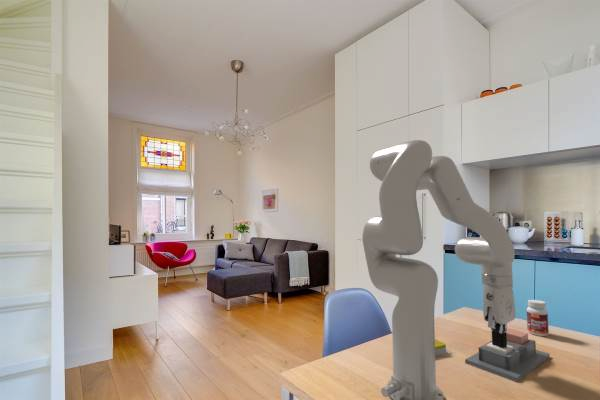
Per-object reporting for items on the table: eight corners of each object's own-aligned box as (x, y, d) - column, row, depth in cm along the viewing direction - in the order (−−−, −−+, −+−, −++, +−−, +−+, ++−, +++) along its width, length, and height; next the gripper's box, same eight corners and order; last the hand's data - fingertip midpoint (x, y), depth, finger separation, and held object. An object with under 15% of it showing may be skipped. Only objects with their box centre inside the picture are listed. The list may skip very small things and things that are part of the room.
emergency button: (393, 335, 101) (430, 329, 106) (394, 349, 101) (431, 343, 106) (413, 346, 92) (453, 339, 97) (413, 362, 92) (453, 354, 97)
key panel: (517, 381, 80) (516, 363, 80) (465, 362, 90) (464, 346, 91) (549, 356, 94) (548, 341, 94) (501, 343, 104) (501, 329, 105)
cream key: (505, 363, 85) (505, 351, 86) (486, 356, 90) (485, 345, 90) (513, 358, 88) (513, 346, 89) (494, 352, 92) (493, 341, 93)
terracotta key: (521, 348, 92) (521, 337, 92) (502, 342, 96) (502, 332, 96) (528, 344, 95) (527, 333, 95) (509, 339, 99) (509, 328, 99)
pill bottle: (530, 335, 111) (529, 302, 112) (524, 329, 117) (523, 298, 117) (551, 337, 109) (550, 304, 110) (545, 331, 115) (543, 300, 115)
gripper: (500, 286, 83) (502, 357, 82) (522, 279, 92) (525, 343, 91) (470, 281, 89) (473, 348, 88) (494, 275, 98) (496, 335, 97)
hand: (499, 345), depth 89 cm, fingers closed
